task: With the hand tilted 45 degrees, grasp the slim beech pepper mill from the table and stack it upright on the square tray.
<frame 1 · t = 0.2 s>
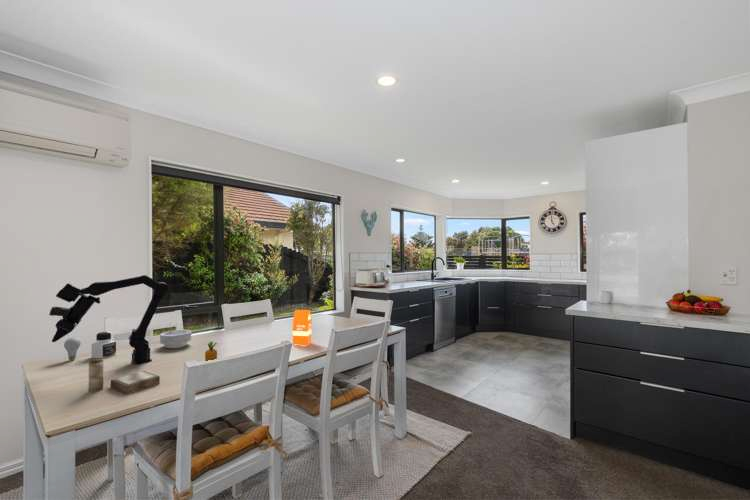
hand: (55, 339, 150), 15 cm above the table, tool tilted 35°, fingers open, 9 cm apart
lightbulb: (72, 360, 168), on the table
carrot: (210, 376, 150), on the table
paper bowls: (175, 346, 194), on the table
medicine bottle: (103, 356, 175), on the table
orange juice: (302, 344, 201), on the table
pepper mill: (95, 390, 133), on the table
square tray: (135, 385, 138), on the table
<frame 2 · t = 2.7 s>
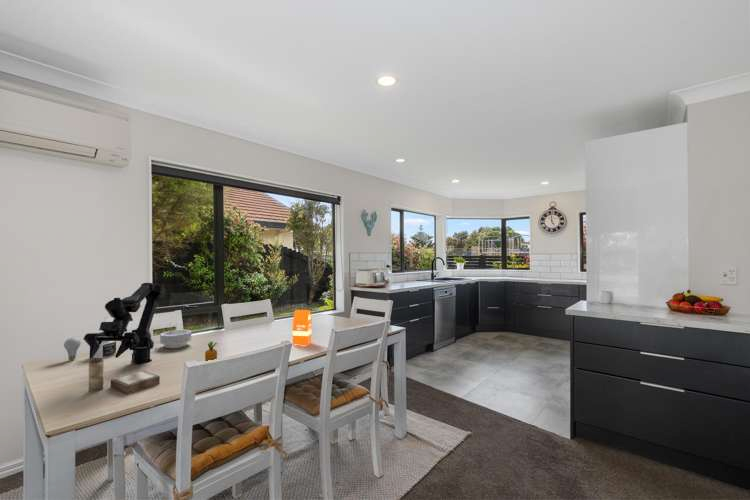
hand: (103, 357, 138), 11 cm above the table, tool tilted 45°, fingers open, 9 cm apart
nothing on the table moved.
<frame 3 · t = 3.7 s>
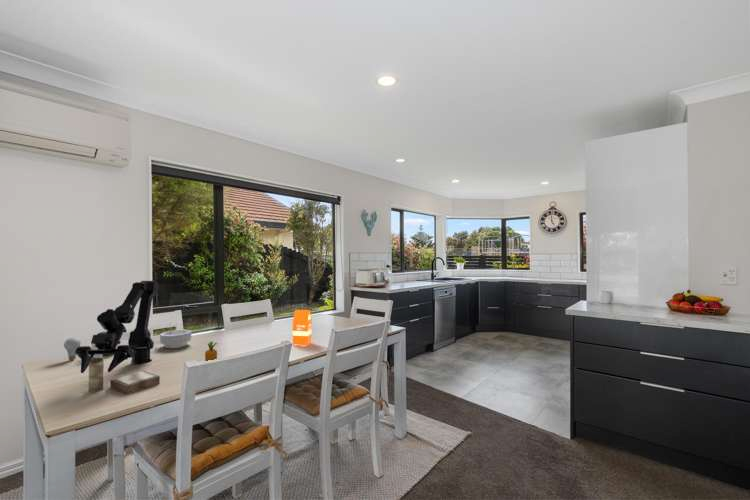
hand: (95, 372, 133), 7 cm above the table, tool tilted 45°, fingers open, 9 cm apart
nothing on the table moved.
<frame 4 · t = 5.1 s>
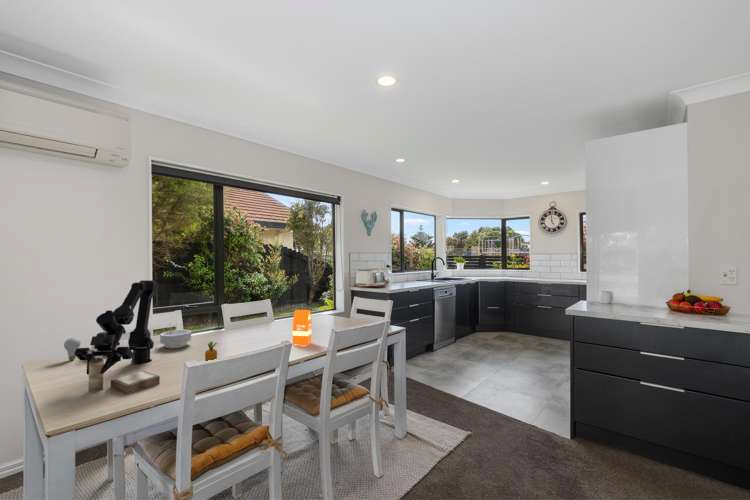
hand: (94, 373, 132), 7 cm above the table, tool tilted 45°, fingers closed on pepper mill, 4 cm apart
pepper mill: (95, 390, 133), on the table, touching gripper
everything else where it was.
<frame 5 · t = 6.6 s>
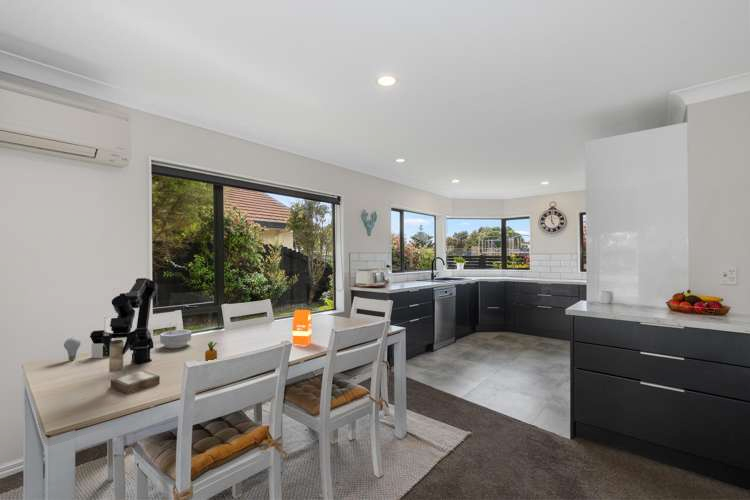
hand: (115, 354, 134), 13 cm above the table, tool tilted 45°, fingers closed on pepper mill, 4 cm apart
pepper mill: (116, 370, 135), point 7 cm above the table, touching gripper
everything else where it was.
when the fingers open (11 cm above the table, at t = 8.4 s): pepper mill stays where it is, resting on square tray.
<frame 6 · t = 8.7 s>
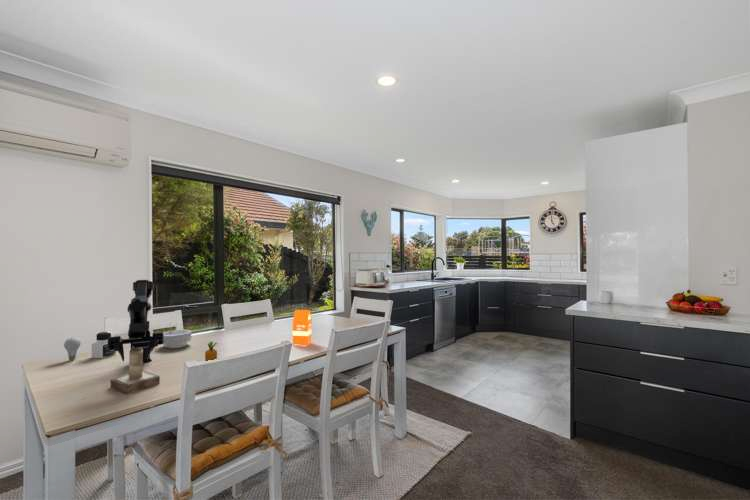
hand: (135, 359, 137), 11 cm above the table, tool tilted 45°, fingers open, 8 cm apart
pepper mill: (135, 377, 138), point 3 cm above the table, touching square tray
everything else where it was.
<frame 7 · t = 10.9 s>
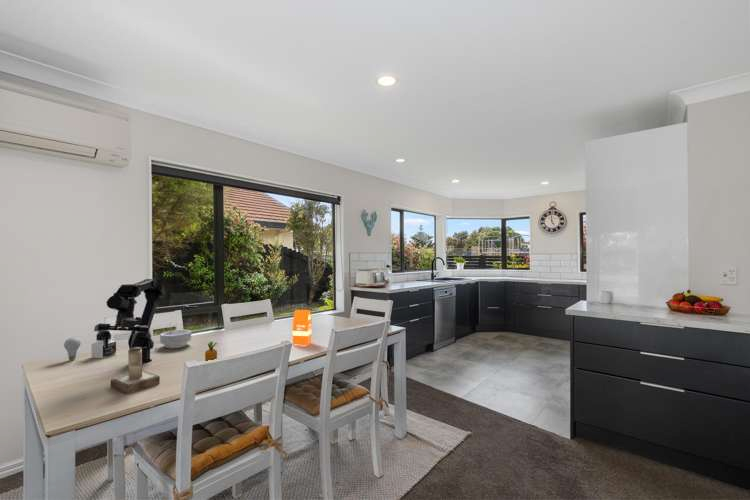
hand: (119, 349, 148), 12 cm above the table, tool tilted 20°, fingers open, 9 cm apart
nothing on the table moved.
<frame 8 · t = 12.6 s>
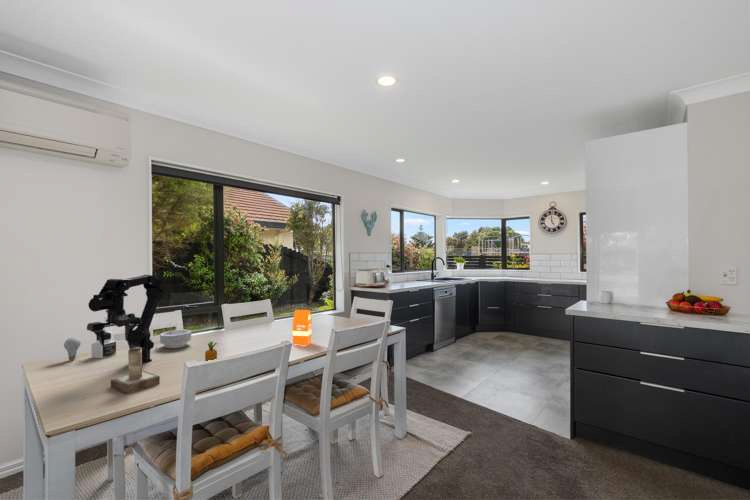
hand: (115, 343, 152), 13 cm above the table, tool pointing down, fingers open, 9 cm apart
nothing on the table moved.
at the end: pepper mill inside the target area on the square tray (0.3 cm from its centre), point 3.3 cm above the square tray's base; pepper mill tilted 2°; the gripper is holding nothing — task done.
